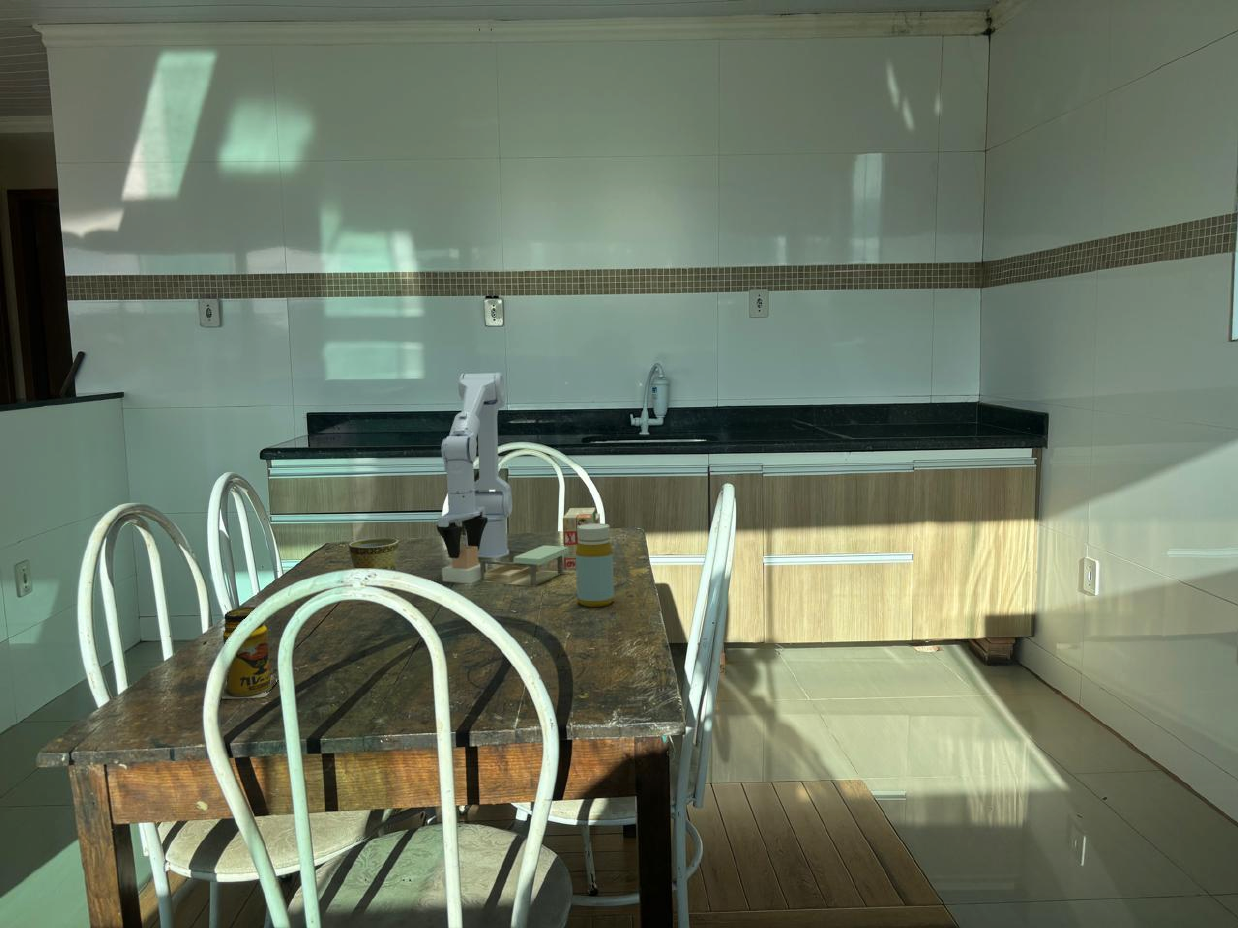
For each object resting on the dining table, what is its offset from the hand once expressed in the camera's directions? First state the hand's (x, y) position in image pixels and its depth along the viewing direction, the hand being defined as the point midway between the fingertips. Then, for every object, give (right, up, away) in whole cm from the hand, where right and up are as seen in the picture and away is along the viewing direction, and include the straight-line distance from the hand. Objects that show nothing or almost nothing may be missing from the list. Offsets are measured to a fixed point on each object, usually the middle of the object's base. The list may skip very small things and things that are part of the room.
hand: (464, 554), depth 203 cm
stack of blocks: (+25, -3, +17) cm, 30 cm away
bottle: (+29, -8, -21) cm, 37 cm away
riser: (0, -6, +1) cm, 6 cm away
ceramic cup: (-18, -7, -4) cm, 20 cm away
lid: (+17, -1, -2) cm, 17 cm away
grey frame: (+12, -5, +1) cm, 14 cm away
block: (0, -3, 0) cm, 3 cm away
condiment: (-22, -14, -64) cm, 69 cm away
